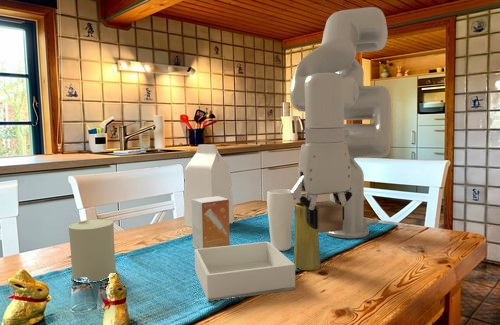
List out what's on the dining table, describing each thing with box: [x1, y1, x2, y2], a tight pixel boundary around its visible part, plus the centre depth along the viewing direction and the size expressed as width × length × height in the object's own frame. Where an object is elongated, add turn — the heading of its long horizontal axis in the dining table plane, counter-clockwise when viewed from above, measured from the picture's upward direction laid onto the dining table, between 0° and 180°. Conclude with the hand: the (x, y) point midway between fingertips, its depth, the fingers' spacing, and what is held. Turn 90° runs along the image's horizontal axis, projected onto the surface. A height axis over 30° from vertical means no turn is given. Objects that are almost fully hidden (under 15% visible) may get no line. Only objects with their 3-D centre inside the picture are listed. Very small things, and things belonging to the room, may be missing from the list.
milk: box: [183, 144, 235, 228], centre depth 129 cm, size 12×12×26 cm
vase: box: [293, 201, 321, 271], centre depth 90 cm, size 6×6×14 cm
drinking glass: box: [266, 188, 295, 252], centre depth 103 cm, size 7×7×15 cm
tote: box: [194, 241, 296, 303], centre depth 83 cm, size 17×16×5 cm
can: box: [68, 218, 117, 282], centre depth 87 cm, size 9×9×12 cm
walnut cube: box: [314, 199, 343, 234], centre depth 81 cm, size 5×5×5 cm
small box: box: [191, 196, 231, 249], centre depth 105 cm, size 8×6×13 cm
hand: (325, 224), depth 81 cm, fingers closed on walnut cube, 5 cm apart
